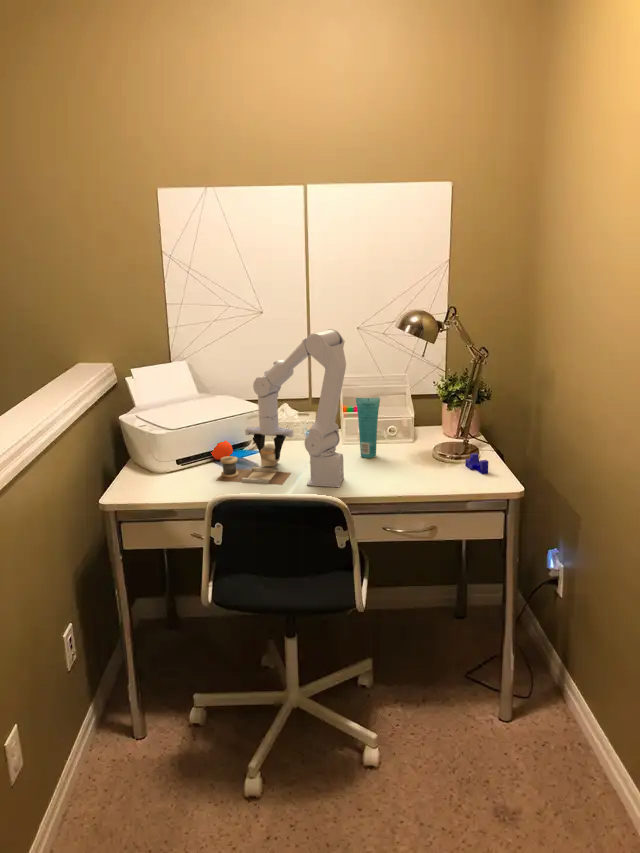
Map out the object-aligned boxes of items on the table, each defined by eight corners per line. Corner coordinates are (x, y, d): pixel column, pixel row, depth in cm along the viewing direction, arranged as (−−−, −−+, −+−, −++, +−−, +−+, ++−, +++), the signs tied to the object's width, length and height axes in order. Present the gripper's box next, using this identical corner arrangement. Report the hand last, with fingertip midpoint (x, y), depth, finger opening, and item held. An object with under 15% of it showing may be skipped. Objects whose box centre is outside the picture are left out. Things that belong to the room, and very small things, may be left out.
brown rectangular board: (291, 477, 218) (291, 469, 217) (282, 489, 208) (282, 481, 208) (228, 473, 222) (227, 465, 222) (216, 485, 213) (215, 477, 212)
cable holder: (465, 466, 224) (465, 454, 223) (475, 465, 225) (476, 453, 224) (477, 475, 217) (477, 462, 216) (487, 474, 218) (488, 461, 216)
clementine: (214, 467, 228) (213, 445, 226) (204, 461, 233) (203, 440, 231) (237, 461, 232) (236, 440, 230) (226, 456, 238) (225, 435, 236)
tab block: (279, 459, 226) (279, 444, 225) (274, 466, 220) (273, 450, 219) (267, 459, 227) (266, 443, 225) (261, 465, 221) (260, 449, 220)
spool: (240, 472, 218) (239, 456, 217) (235, 478, 214) (234, 462, 212) (224, 471, 220) (223, 455, 218) (218, 477, 215) (217, 461, 213)
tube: (379, 453, 237) (379, 395, 232) (380, 458, 233) (380, 399, 227) (356, 454, 237) (355, 396, 232) (356, 458, 232) (356, 400, 227)
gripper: (295, 412, 221) (296, 455, 225) (249, 410, 225) (251, 452, 229) (289, 418, 215) (290, 462, 219) (242, 416, 218) (244, 460, 222)
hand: (270, 458), depth 223 cm, fingers closed on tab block, 4 cm apart
